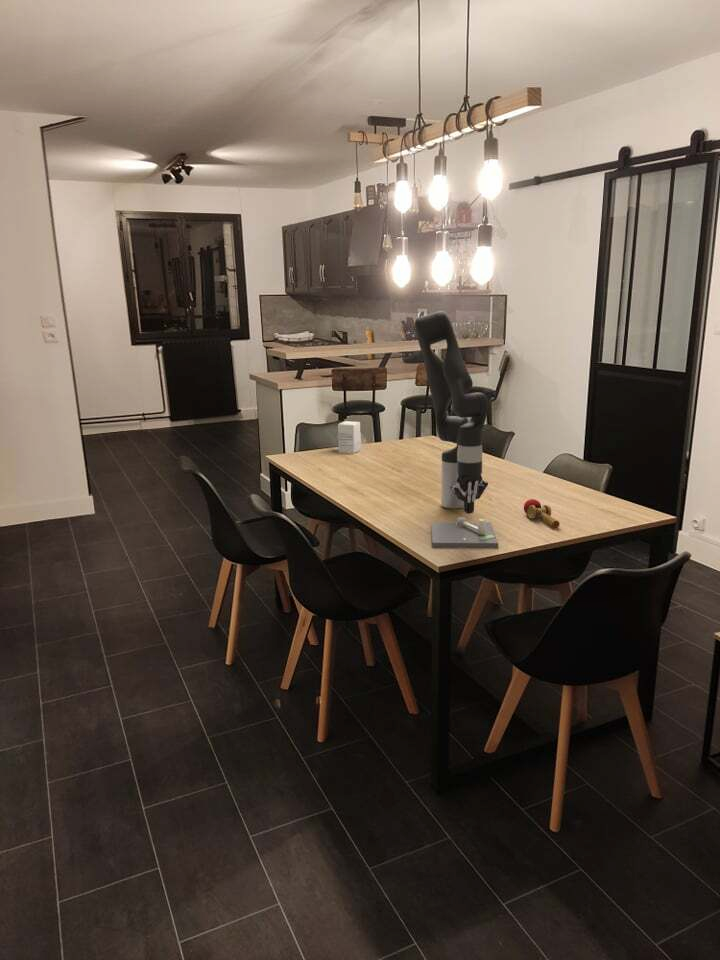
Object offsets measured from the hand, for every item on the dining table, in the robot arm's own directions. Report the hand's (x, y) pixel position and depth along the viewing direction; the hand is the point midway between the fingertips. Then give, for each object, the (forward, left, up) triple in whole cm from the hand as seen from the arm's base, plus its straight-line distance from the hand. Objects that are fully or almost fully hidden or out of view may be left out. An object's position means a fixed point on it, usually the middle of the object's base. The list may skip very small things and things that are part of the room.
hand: (469, 512), depth 209 cm
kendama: (-22, +27, -10) cm, 36 cm away
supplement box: (-131, -49, -10) cm, 140 cm away
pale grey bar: (-7, +1, -8) cm, 11 cm away
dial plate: (-5, -1, -10) cm, 11 cm away
